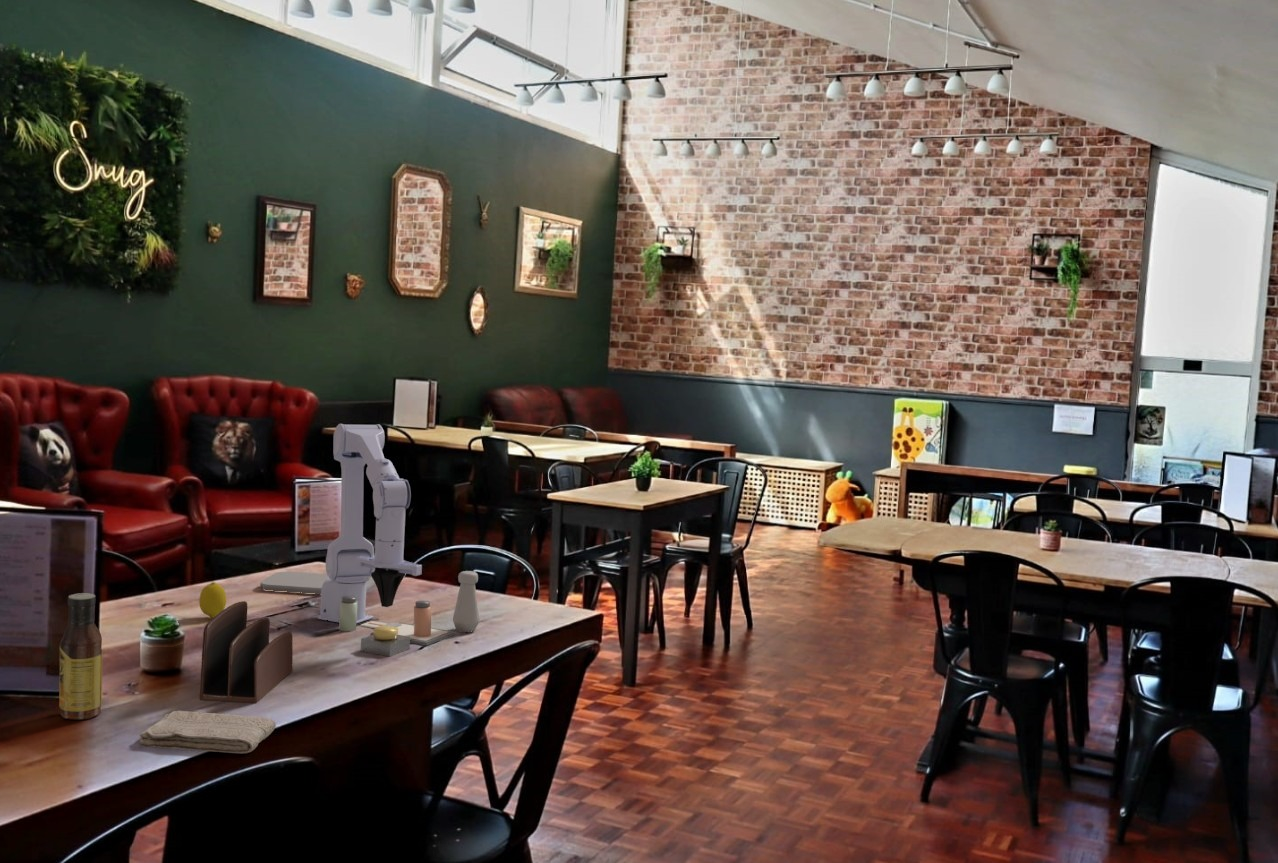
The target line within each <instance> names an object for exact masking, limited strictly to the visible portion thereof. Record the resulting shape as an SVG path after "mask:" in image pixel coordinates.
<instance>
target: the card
mask: <svg viewBox="0 0 1278 863" xmlns="http://www.w3.org/2000/svg"><path fill="white" fill-rule="evenodd" d="M386 624H388V623H385V622H380V621H374V620H371V621H368V622H365V623H362V624H360V626H361V627H365V628H371V629H374V628H375V627H379V626H383V625H386Z"/></svg>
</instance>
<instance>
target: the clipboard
mask: <svg viewBox="0 0 1278 863" xmlns="http://www.w3.org/2000/svg"><path fill="white" fill-rule="evenodd" d="M383 626H393V627H397V628H398V635H403V636H409V637H410V644H416V645H421V646H429V645H432V644H434V643H436V642H439V641H441V640H444V638H445V639H447V638H449V636H450V637H452V636H455V635H456V632H455V631H452V630H446V629H441V628H435V627H431V635H430V636H426V637H418V636H414V624H411V623H404V622H389V623H387V624H386V625H383ZM454 634H455V635H454ZM371 635H374V631H372V632H370V636H371Z"/></svg>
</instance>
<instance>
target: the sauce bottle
mask: <svg viewBox="0 0 1278 863" xmlns="http://www.w3.org/2000/svg"><path fill="white" fill-rule="evenodd" d="M95 605H96V594H94V593H89V592H86V593H85V592H81V593H74V594H69V595H68V597H67V606H68V619H67V625H66V628H65V630H64V633H63V634H62V635H63V636H62V638H61V641H60V643H59V679H58V680H59V687H58V690H59V693H58V694H59V696H58V697H59V698H58V699H59V703H58V706H59V707H58V708H60V712H59V713H60V715H61V717H62V718H63V719H65V720H67V719H68V720H75V721H77V720H80V721H81V720H89V719H91V718H94V717H96V716H98V715H100V713H101V710H102V705H101V704H102V702H103V649H102V648H103V646H102V645H103V643H102V642H103V638H102V633H101V631H100V630H99V628H98V627H97V625H96V624H95Z"/></svg>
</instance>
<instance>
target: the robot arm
mask: <svg viewBox="0 0 1278 863" xmlns="http://www.w3.org/2000/svg"><path fill="white" fill-rule="evenodd" d="M385 438H386V436H385V430H384V429H383V427H382V425H381V424H378V423H377V424H345V423H338V425H336V427H335V429H334V432H333V443H332V444H333V451H332V452H333V459H334V460H335V461H337V462H339V463H340V468H341V481H340V482H341V484H340V485H341V488H340V490H341V491H340V494H341V496H340V535H339V536H338V537H337V538H336V539H333V541H332V542H330V543H328V547H327V551H326V552H327V553H326V556H325V574H327V576H328V577H329V578H328V579H327V580H326V581H325V582H324V583H323V586H322V589H321V595H320V608H319V615H318V616H317V619H318V620H323V621H327V620H328V621H329V622H335V623H339V619H340V602H341V601H342V597H343V596H355V597H356V601H357V602H358V603H357V623H356V624H359V623H362V622H365V621H368V620H372V619H374V615H372V614H371V615H370V614H366V602H367V593H366V581H369V578H370V577H372V578H373V580H374V582H375V586H376V589H377V593H378V595H379V600H380V605H381V607H384V608H389V607H392V606H393V604H394V601H395V597H396V594H397V591H398V589H399V586H400V585H401V583H402V581H403V579H404V578H405V576H406V574H408V575H412V576H414V577H417V576H420V575H422V574H423V573H422V571H423V570H422V569H423V565H422V564H418V563H415V562H412V561H411V562H410V561H407V560H405V559H404V551H405V550H404V549H405V530H406V529H405V527H406V509H409V507H410V504H411V500H412V499H411V498H412V493H411V486H410V483H409V480H408V479H404V478H400V476H399V474H398V473H397V470H396V468H395V466H394V465H393V462H392V461H391V460H390V459H387V458H385V456H384V453H383V449H384V446H385ZM365 465H367V467H366V471H365V474H366V476H367V479H368V480H369V483H370V485H371V487H372V490H373V491H372V501H373V502H372V503H373V515H374V517H375V518H376V519H375V539H374V540H375V541H374V545H373V543H372V542H371V541H369V540H368V539H366V537H364V533H363V532H364V475H365V474H364V470H365Z"/></svg>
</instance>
